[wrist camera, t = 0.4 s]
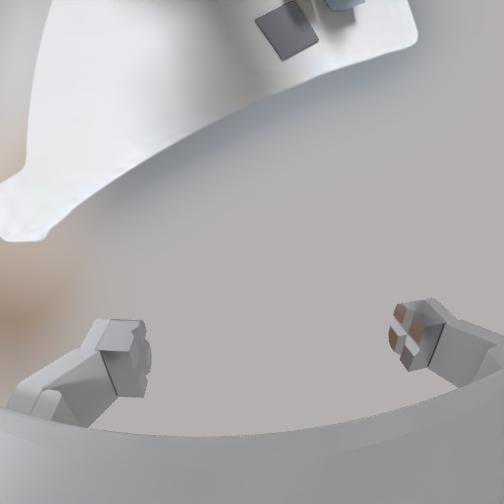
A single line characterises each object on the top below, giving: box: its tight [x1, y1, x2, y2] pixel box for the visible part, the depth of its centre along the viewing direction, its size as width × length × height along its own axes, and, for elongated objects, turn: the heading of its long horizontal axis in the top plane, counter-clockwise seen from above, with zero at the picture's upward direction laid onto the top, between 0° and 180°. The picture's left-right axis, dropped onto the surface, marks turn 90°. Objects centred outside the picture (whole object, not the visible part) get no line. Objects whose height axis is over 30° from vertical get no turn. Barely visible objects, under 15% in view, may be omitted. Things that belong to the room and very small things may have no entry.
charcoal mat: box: [255, 0, 319, 59], centre depth 42 cm, size 9×8×1 cm
